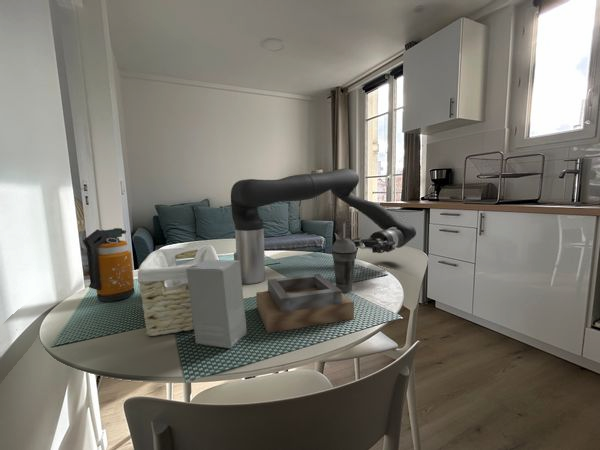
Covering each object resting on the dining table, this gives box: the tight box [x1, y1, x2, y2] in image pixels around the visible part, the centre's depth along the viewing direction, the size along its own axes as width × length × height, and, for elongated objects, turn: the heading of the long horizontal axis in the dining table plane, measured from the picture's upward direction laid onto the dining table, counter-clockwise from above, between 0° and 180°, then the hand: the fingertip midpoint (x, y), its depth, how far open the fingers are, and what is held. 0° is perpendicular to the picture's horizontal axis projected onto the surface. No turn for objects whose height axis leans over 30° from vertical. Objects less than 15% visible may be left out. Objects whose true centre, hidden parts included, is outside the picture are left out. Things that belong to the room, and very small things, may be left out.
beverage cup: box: [331, 222, 358, 293], centre depth 83 cm, size 7×7×20 cm
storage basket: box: [137, 244, 220, 337], centre depth 70 cm, size 24×16×15 cm
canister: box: [82, 227, 135, 303], centre depth 80 cm, size 9×11×20 cm
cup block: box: [255, 273, 355, 334], centre depth 69 cm, size 20×14×7 cm
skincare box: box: [186, 259, 248, 349], centre depth 56 cm, size 8×7×16 cm
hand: (361, 247), depth 91 cm, fingers open, 8 cm apart
